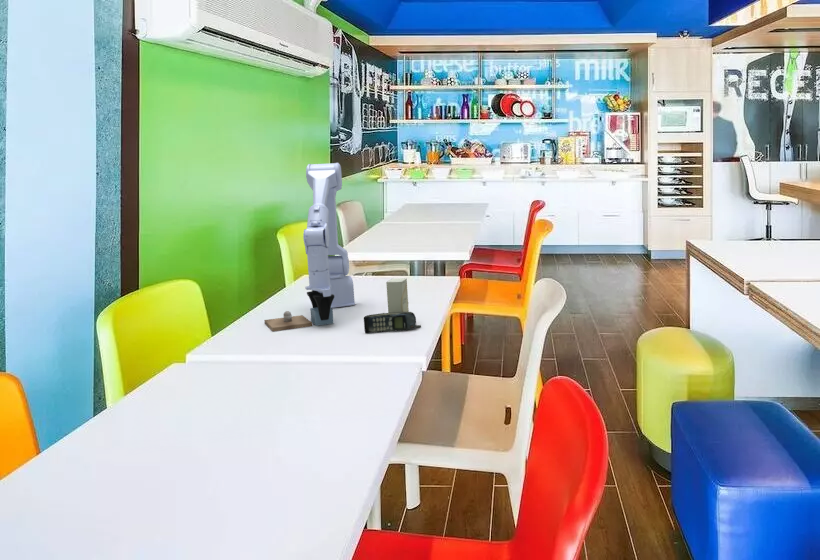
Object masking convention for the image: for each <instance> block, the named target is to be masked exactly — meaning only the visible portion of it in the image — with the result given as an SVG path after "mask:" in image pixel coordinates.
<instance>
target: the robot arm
mask: <svg viewBox="0 0 820 560" xmlns="http://www.w3.org/2000/svg"><path fill="white" fill-rule="evenodd" d="M305 176H306V177H305V179H306V182H307V184H308V185H309V187H310V189H311V190H312V205H311V206H309V207H308V212H307V213H308V214H307V222H306V223H307V224H306V228H305V229H303V236H302V239H303V245H304V247H305V254H306V257H307V258H306V259H307V272H308V284H309V285H307V286H304V288H305V289H304V290H306V291H307V292H306V295H307V296H308V298H309V300H310V303H311V305H312V308H317V307H318V311H319V316H320V319H321V320H328V319H329V314H330V308H331V309H333V308H334V309H335V308H340V307H341V308H342V307H349V306H355V305H356V303H355V291H354V290H355V287H354V281H353V277H352V276H350V275H349V272H350V261H349V256H348V255H349V254H348V251H347V249H345V248H344V247H342V246H341V245H340V244H339V239H338V237H339V236H338V221H337V220H338V219H337V218H338V217H337V202H336V198H337V197H336V196H337V192H338V191H340V190H342V186H343V178H342V177H343V175H342V166H341V164H340V163H339V162H334V163H332V162H331V163H315V164H314V163H308V164H307V166H306V167H305Z"/></svg>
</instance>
